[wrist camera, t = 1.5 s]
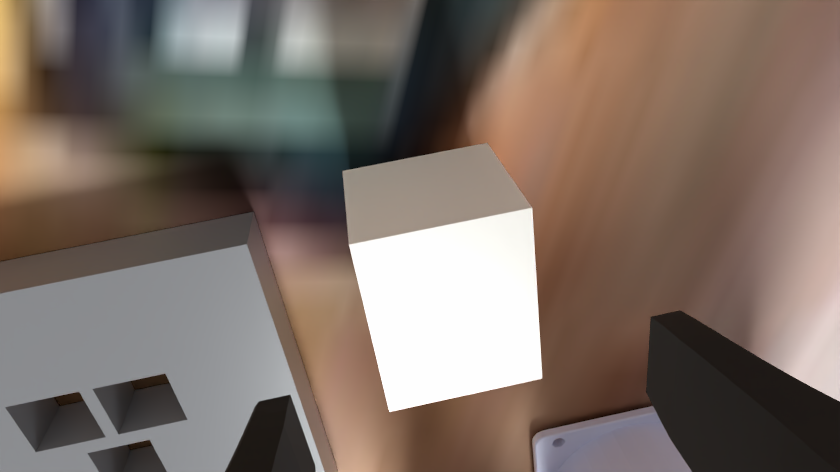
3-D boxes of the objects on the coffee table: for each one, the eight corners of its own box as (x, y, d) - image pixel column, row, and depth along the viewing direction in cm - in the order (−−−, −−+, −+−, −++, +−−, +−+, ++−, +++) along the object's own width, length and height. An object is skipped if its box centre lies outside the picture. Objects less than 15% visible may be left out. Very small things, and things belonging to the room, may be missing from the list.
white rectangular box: (473, 121, 18) (532, 207, 13) (487, 261, 20) (542, 378, 15) (340, 147, 18) (349, 244, 13) (371, 285, 20) (389, 411, 15)
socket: (253, 211, 18) (242, 263, 16) (337, 470, 24) (339, 539, 22) (-153, 291, 18) (-234, 359, 15) (37, 537, 24) (2, 616, 21)
